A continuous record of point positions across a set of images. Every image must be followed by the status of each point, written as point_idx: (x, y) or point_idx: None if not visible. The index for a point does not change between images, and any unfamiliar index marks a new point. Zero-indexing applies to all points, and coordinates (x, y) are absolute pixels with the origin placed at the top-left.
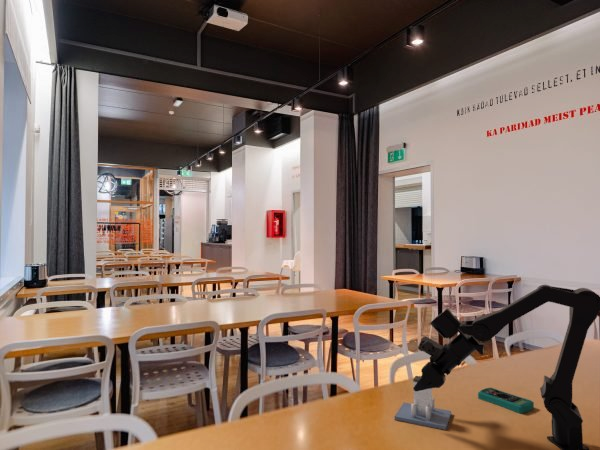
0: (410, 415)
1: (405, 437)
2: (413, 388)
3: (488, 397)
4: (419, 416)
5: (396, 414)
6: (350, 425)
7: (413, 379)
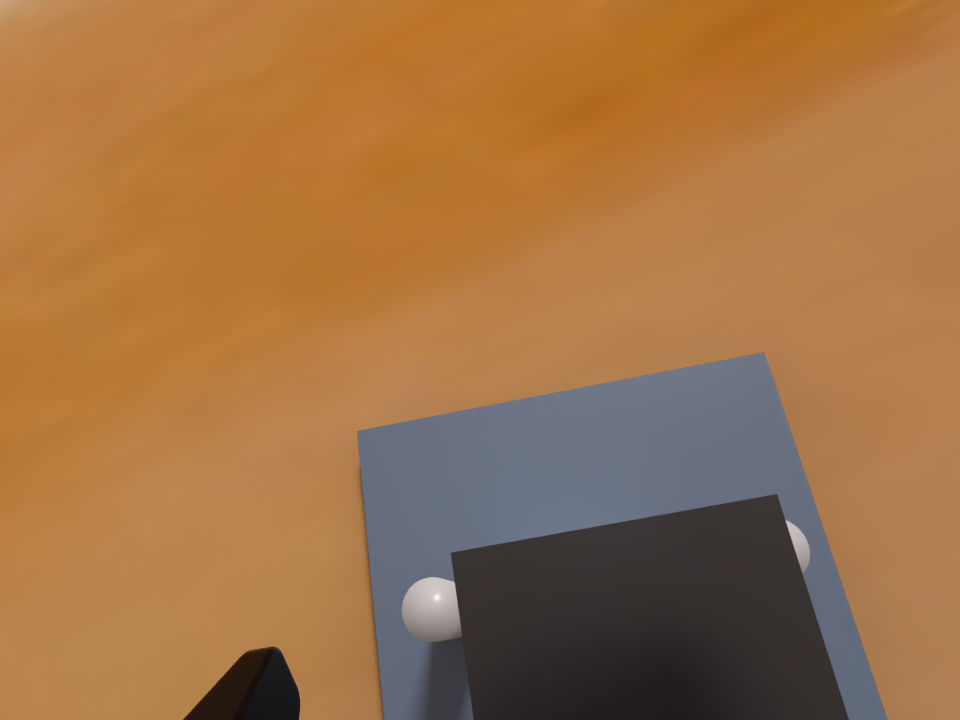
0: None
1: (70, 686)
2: (241, 661)
3: None
4: None
5: (408, 428)
6: (96, 209)
7: (452, 558)
